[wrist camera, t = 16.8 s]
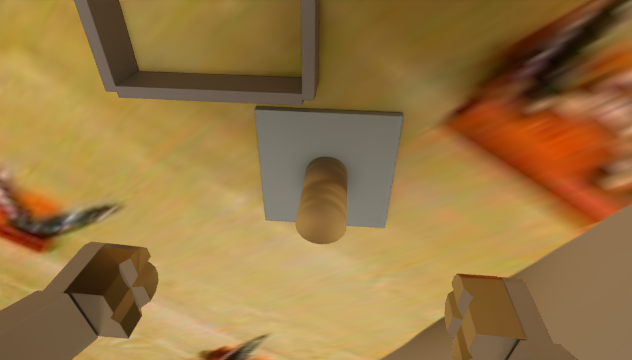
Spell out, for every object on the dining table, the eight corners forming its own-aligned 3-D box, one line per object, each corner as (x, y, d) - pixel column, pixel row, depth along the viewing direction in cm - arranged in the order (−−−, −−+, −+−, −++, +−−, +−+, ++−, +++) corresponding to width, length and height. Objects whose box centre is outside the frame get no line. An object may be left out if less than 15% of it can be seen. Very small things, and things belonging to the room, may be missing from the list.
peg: (348, 157, 35) (347, 207, 29) (346, 192, 38) (344, 245, 31) (305, 155, 36) (294, 204, 29) (305, 189, 38) (296, 242, 32)
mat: (402, 112, 33) (403, 116, 32) (384, 223, 41) (384, 228, 40) (256, 106, 34) (254, 109, 33) (266, 215, 42) (265, 220, 41)
